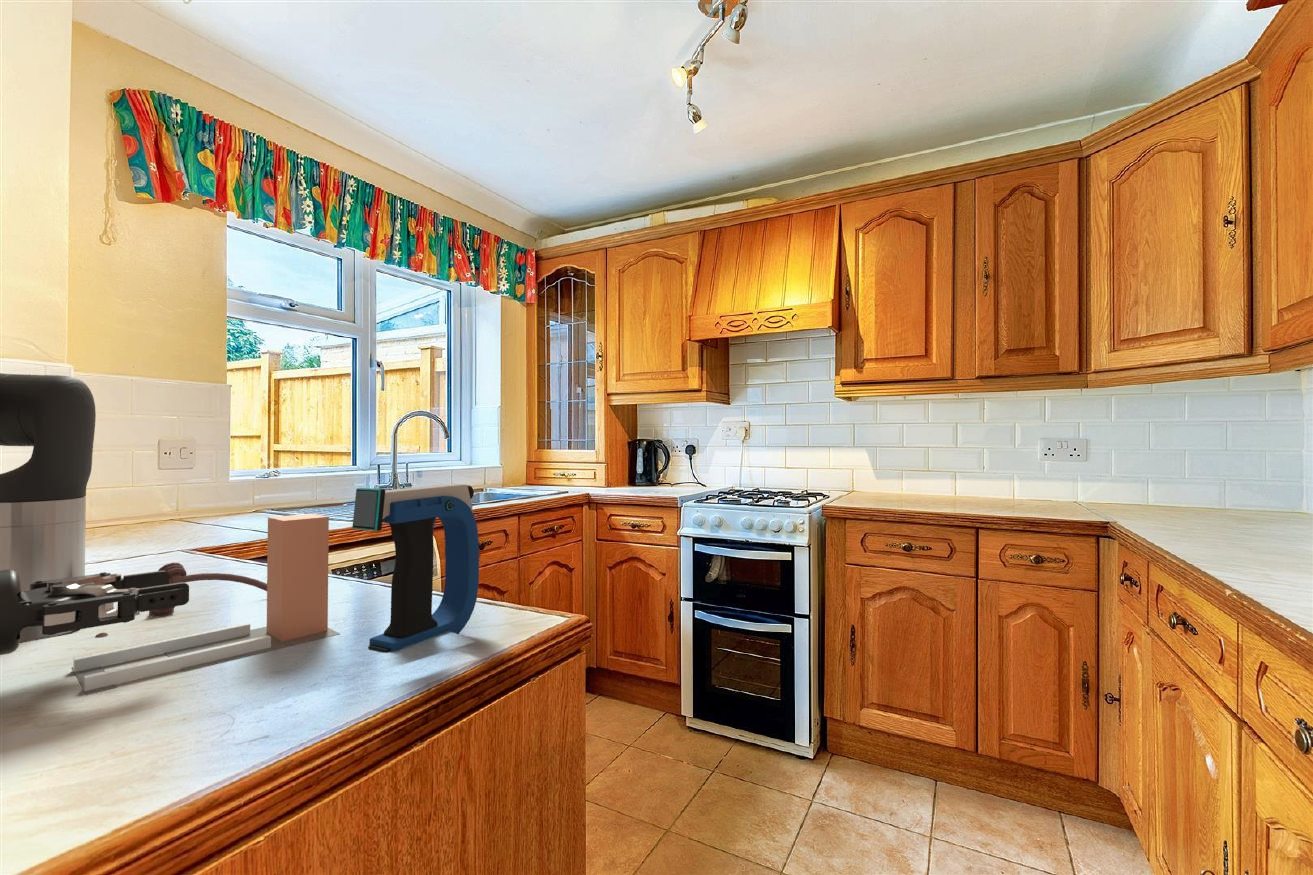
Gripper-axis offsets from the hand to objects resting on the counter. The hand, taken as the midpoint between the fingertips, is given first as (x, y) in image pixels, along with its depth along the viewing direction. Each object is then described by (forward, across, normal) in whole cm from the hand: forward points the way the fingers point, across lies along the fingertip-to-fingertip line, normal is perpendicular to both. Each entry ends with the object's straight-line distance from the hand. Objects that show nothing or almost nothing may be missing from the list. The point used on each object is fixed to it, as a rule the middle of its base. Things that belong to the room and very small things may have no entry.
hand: (177, 586), depth 62 cm
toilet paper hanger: (+6, +23, +10) cm, 25 cm away
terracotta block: (+12, 0, +8) cm, 14 cm away
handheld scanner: (+21, -13, +9) cm, 26 cm away
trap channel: (+5, 0, +9) cm, 10 cm away
